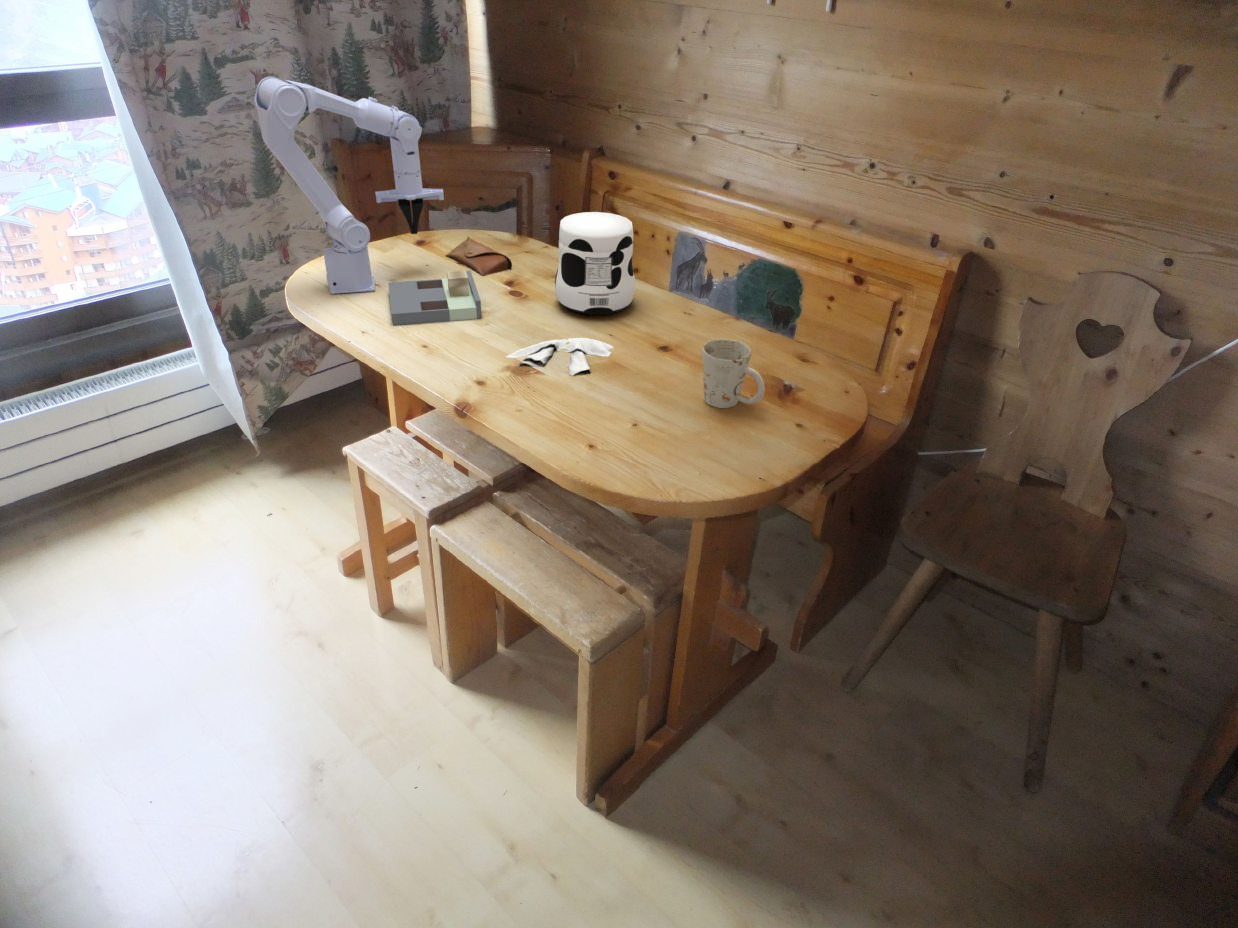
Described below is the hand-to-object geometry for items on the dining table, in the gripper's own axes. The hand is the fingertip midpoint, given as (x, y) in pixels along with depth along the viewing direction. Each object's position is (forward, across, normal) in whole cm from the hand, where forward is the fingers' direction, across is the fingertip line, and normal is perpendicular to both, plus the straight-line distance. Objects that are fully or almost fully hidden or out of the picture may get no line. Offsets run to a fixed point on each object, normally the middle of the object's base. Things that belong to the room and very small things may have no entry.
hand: (414, 232), depth 183 cm
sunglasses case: (+10, +14, +4) cm, 18 cm away
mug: (+10, +49, -73) cm, 88 cm away
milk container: (+10, +36, -26) cm, 45 cm away
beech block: (+7, +7, -20) cm, 22 cm away
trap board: (+9, +1, -20) cm, 22 cm away
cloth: (+10, +23, -50) cm, 56 cm away
